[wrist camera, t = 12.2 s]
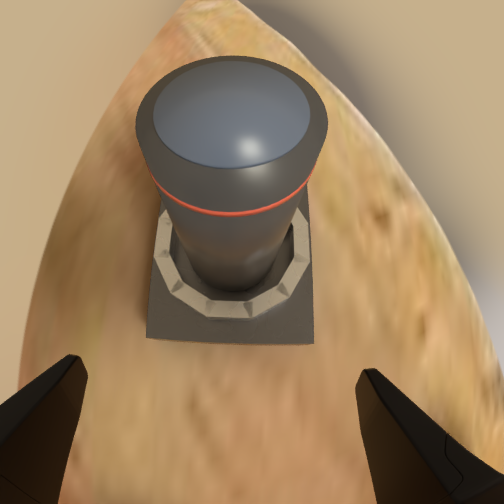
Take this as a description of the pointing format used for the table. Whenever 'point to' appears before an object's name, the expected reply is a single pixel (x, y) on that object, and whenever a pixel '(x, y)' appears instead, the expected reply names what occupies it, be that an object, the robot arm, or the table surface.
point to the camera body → (233, 294)
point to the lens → (231, 160)
